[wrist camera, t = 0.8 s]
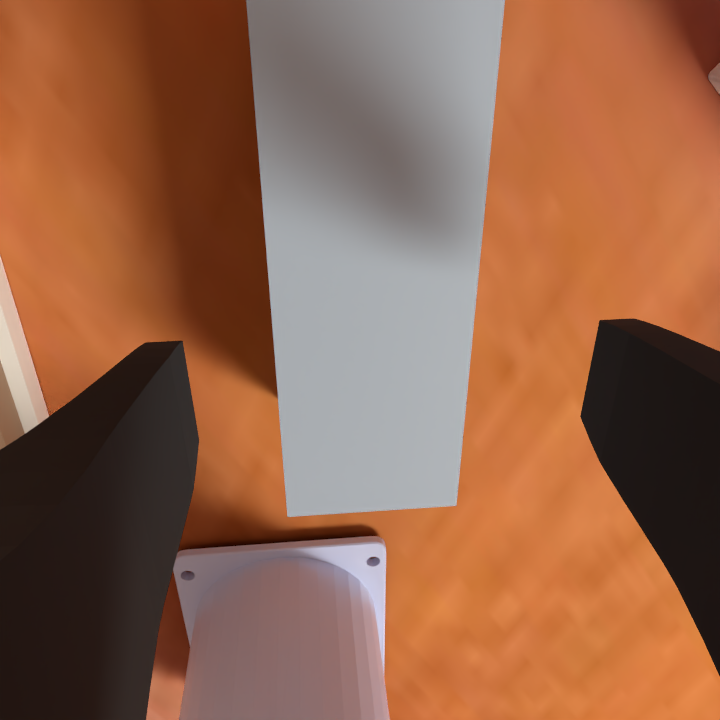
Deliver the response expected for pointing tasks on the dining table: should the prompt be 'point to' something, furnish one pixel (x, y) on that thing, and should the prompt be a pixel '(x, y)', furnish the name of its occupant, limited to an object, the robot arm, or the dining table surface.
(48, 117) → the dining table surface
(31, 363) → the peg frame
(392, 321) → the rectangular block
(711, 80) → the small box
